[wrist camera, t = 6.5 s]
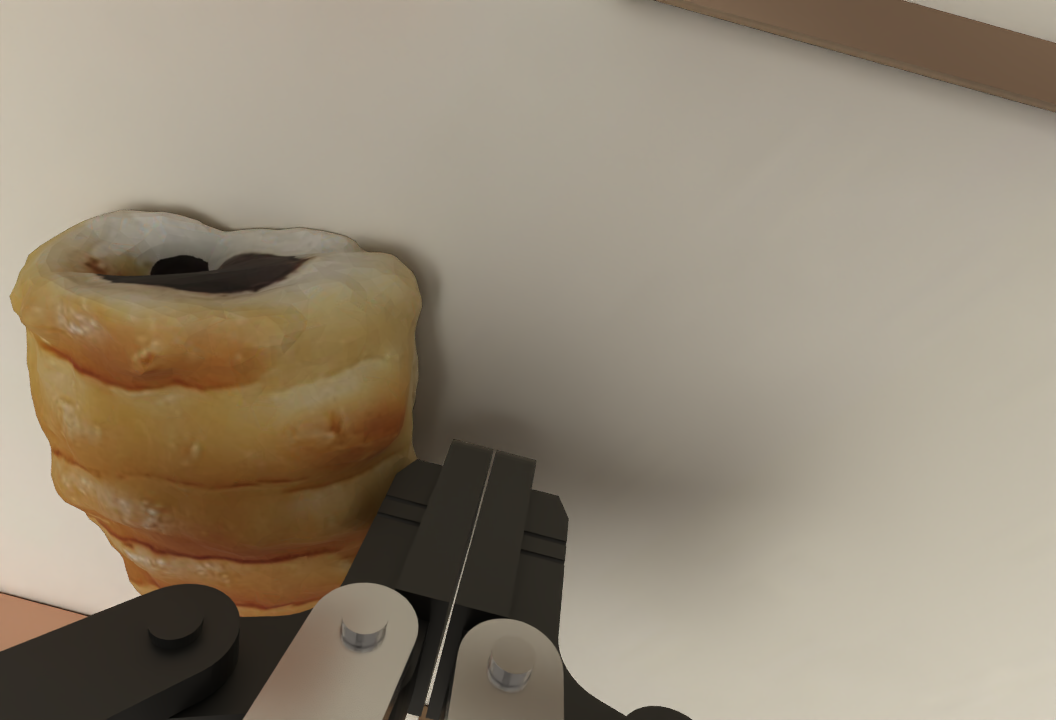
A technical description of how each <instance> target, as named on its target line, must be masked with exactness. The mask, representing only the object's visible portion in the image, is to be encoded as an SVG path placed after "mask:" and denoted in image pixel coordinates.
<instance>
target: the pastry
mask: <svg viewBox="0 0 1056 720" xmlns="http://www.w3.org/2000/svg"><path fill="white" fill-rule="evenodd" d="M10 300H11V303H12V307H13V310H14V311H15V312H16V313H17V314H18V315H19V316H20V320H21V322H22V323H23V324H24V325H25V326H26V332H27V366H28V370H29V377H30V387H31V395H32V399H33V403H34V407H35V412H36V416H37V418H38V421H39V423H40V425H41V428H42V430H43V431H44V433H45V435H46V437H47V438H48V440H49V443H50V446H51V455H52V466H51V476H52V480H53V483H54V486H55V489H56V491H57V493H58V494H59V496H60V497H61V498H62V499H63V500H64V501H65V502H67V503H69V504H71V505H73V506H75V507H77V508H79V509H81V510H82V511H84V512H85V513H86V515H87V516H88V518H89V519H90V520H91V521H93V522H94V523H95V524H97V525H98V526H99V527H100V528H101V529H102V531H103V532H104V533H105V535H106V537H107V538H108V540H109V542H110V544H111V545H112V546H113V547H114V548H115V549H116V550H117V551H118V552H119V553H120V554H121V556H122V557H123V559H124V563H125V567H126V571H127V574H128V577H129V580H130V582H131V584H132V585H133V586H134V588H135V589H136V590H137V591H138V592H139V593H140V594H141V595H144V594H146V593H149V592H152V591H154V590H157V589H160V588H163V587H167V586H172V585H178V584H200V585H206V586H209V587H213V588H216V589H218V590H220V591H222V592H223V593H225V594H226V595H227V596H229V597H230V598H231V599H232V601H233V602H234V603H235V605H236V607H237V609H238V611H239V615H240V617H258V616H283V615H291V614H296V613H300V612H303V611H306V610H309V609H311V608H314V606H315V605H316V604H317V603H318V601H319V600H320V599H322V598H323V597H324V596H325V595H326V594H328V593H329V592H331V591H333V590H335V589H337V588H339V587H340V586H341V584H342V583H343V581H344V579H345V577H346V575H347V573H348V571H349V569H350V567H351V565H352V563H353V561H354V559H355V557H356V555H357V553H358V551H359V548H360V546H361V544H362V542H363V540H364V538H365V536H366V534H367V532H368V530H369V528H370V526H371V524H372V522H373V520H374V518H375V516H377V512H378V510H379V508H380V506H381V504H382V502H383V500H384V499H385V497H386V494H387V492H388V490H389V488H390V485H391V483H392V481H393V479H394V477H395V475H396V474H397V473H398V472H400V471H401V470H402V469H404V468H405V467H407V466H408V465H409V464H411V463H412V462H413V461H415V460H416V459H417V457H416V454H415V451H414V448H413V444H412V433H413V415H412V410H413V407H414V404H415V399H416V388H417V384H418V379H419V373H418V355H417V351H416V343H415V331H416V330H415V329H416V325H417V321H418V318H419V315H420V312H421V309H422V298H421V295H420V292H419V288H418V285H417V281H416V278H415V276H414V274H413V273H412V272H411V271H410V270H409V269H408V268H407V267H406V266H405V265H404V264H403V263H402V262H401V261H400V260H399V259H398V258H396V257H395V256H393V255H391V254H387V253H382V252H367V251H365V250H363V249H362V248H360V247H359V246H358V244H357V243H356V242H355V241H354V240H352V239H350V238H348V237H346V236H343V235H339V234H334V233H329V232H325V231H319V230H313V229H307V228H301V227H298V228H290V229H283V230H274V229H265V228H260V229H247V230H238V231H231V232H223V231H221V230H218V229H215V228H212V227H209V226H207V225H204V224H203V223H201V222H200V221H197V220H194V219H191V218H188V217H185V216H182V215H177V214H172V213H167V212H144V211H136V210H121V211H116V212H111V213H107V214H104V215H100V216H96V217H93V218H91V219H88V220H85V221H83V222H81V223H79V224H77V225H75V226H73V227H71V228H69V229H67V230H66V231H64V232H62V233H60V234H59V235H57V236H55V237H54V238H52V239H50V240H49V241H47V242H46V243H44V244H42V245H41V246H39V247H38V248H37V249H36V250H34V251H33V252H32V253H31V254H29V255H28V258H27V261H26V263H25V265H24V267H23V268H22V269H21V271H20V273H19V276H18V279H17V282H16V284H15V287H14V289H13V291H12V293H11V295H10Z"/></svg>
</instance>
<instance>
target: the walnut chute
mask: <svg viewBox="0 0 1056 720" xmlns="http://www.w3.org/2000/svg"><path fill="white" fill-rule="evenodd" d="M655 1H658V2H662V3H665V4H669V5H672V6H676V7H680V8H683V9H687V10H690V11H694V12H698V13H701V14H705V15H708V16H712V17H715V18H719V19H723V20H726V21H730V22H733V23H737V24H741V25H744V26H748V27H751V28H755V29H758V30H762V31H766V32H769V33H773V34H776V35H780V36H784V37H787V38H791V39H794V40H798V41H801V42H805V43H809V44H812V45H816V46H819V47H823V48H827V49H830V50H834V51H837V52H841V53H844V54H848V55H852V56H855V57H859V58H862V59H866V60H870V61H873V62H877V63H880V64H884V65H888V66H891V67H895V68H898V69H902V70H905V71H909V72H913V73H916V74H920V75H923V76H927V77H931V78H934V79H938V80H941V81H945V82H948V83H952V84H956V85H959V86H963V87H966V88H970V89H974V90H977V91H981V92H984V93H988V94H991V95H995V96H999V97H1002V98H1006V99H1009V100H1013V101H1017V102H1020V103H1024V104H1027V105H1031V106H1034V107H1038V108H1042V109H1045V110H1049V111H1052V112H1056V43H1054V42H1050V41H1046V40H1043V39H1039V38H1036V37H1032V36H1029V35H1025V34H1021V33H1018V32H1014V31H1011V30H1007V29H1004V28H1000V27H996V26H993V25H989V24H986V23H982V22H979V21H975V20H971V19H968V18H964V17H961V16H957V15H954V14H950V13H946V12H943V11H939V10H936V9H932V8H929V7H925V6H921V5H918V4H914V3H911V2H907V1H904V0H655ZM427 709H428V707H427V706H424V708H423V711H422V715H421V717H420V716H419V719H418V720H433V719H429V718H425V717H426V713H427Z"/></svg>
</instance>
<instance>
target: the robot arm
mask: <svg viewBox="0 0 1056 720" xmlns="http://www.w3.org/2000/svg"><path fill="white" fill-rule="evenodd" d="M492 453H493V449H490V448H486V447H482V446H478V445H475V444H471V443H467V442H463V441H459V440H456V439H454V440H453V442H452V444H451V447H450V449H449V452H448V454H447V457H446V459H445V462H444V465H443V466H441V465H437V464H433V463H429V462H425V461H421V460H418V459H416V460H415V461H413V462H412V463H411V464H409V465H408V466H407V467H405V468H404V469H402V470H401V471H400V472H398V473H397V474H396V475H395V477H394V479H393V481H392V483H391V485H390V488H389V490H388V492H387V494H386V497H385V499H384V500H383V502H382V504H381V506H380V508H379V510H378V512H377V516H375V518H374V520H373V522H372V524H371V526H370V528H369V530H368V532H367V534H366V536H365V538H364V540H363V542H362V544H361V546H360V548H359V551H358V553H357V555H356V557H355V559H354V561H353V563H352V565H351V567H350V569H349V571H348V573H347V575H346V577H345V579H344V581H343V583H342V584H341V586H340V587H339V588H337V589H335V590H333V591H331V592H329V593H328V594H326V595H325V596H324V597H323V598H322V599H320V600H319V601H318V603H317V604H316V605H315V606H314V608H311V609H309V610H306V611H303V612H300V613H296V614H291V615H283V616H258V617H240V615H239V611H238V609H237V607H236V605H235V603H234V602H233V601H232V599H231V598H230V597H229V596H227V595H226V594H225V593H223V592H222V591H220V590H218V589H216V588H213V587H209V586H206V585H200V584H178V585H172V586H167V587H163V588H160V589H157V590H154V591H152V592H149V593H146V594H144V595H141V596H139V597H136V598H134V599H131V600H129V601H126V602H124V603H121V604H119V605H116V606H114V607H111V608H109V609H106V610H104V611H101V612H99V613H96V614H94V615H91V616H88V617H86V618H83V619H81V620H78V621H76V622H73V623H71V624H68V625H66V626H63V627H61V628H58V629H56V630H53V631H51V632H48V633H46V634H43V635H41V636H38V637H36V638H33V639H30V640H28V641H25V642H23V643H20V644H18V645H15V646H13V647H10V648H8V649H5V650H3V651H0V720H405V718H406V715H407V713H408V714H412V715H416V716H420V717H421V715H422V711H423V708H424V704H425V701H426V697H427V693H428V690H429V686H430V683H431V679H432V675H433V672H434V668H435V665H436V661H437V658H438V654H439V650H440V647H441V643H442V640H443V636H444V632H445V629H446V625H447V622H448V618H449V615H450V611H451V607H452V604H453V600H454V597H455V593H456V590H457V586H458V582H459V579H460V575H461V572H462V568H463V564H464V561H465V557H466V554H467V550H468V546H469V543H470V539H471V535H472V532H473V528H474V524H475V520H476V516H477V512H478V508H479V504H480V501H481V497H482V493H483V489H484V485H485V481H486V477H487V473H488V469H489V465H490V461H491V457H492ZM535 466H536V460H533V459H529V458H525V457H521V456H517V455H514V454H510V453H506V452H502V451H498V450H497V451H496V455H495V458H494V462H493V466H492V469H491V473H490V476H489V480H488V484H487V487H486V491H485V495H484V498H483V502H482V506H481V509H480V513H479V516H478V520H477V524H476V527H475V531H474V535H473V538H472V542H471V545H470V549H469V553H468V556H467V560H466V564H465V567H464V571H463V574H462V578H461V582H460V585H459V589H458V593H457V596H456V600H455V604H454V607H453V611H452V615H451V619H450V623H449V627H448V631H447V635H446V639H445V643H444V647H443V651H442V655H441V658H440V662H439V666H438V670H437V674H436V678H435V682H434V686H433V690H432V694H431V698H430V702H429V706H428V709H427V713H426V717H425V718H429V719H433V720H692V719H690V718H689V717H688V716H686V715H684V714H682V713H680V712H678V711H675V710H673V709H670V708H666V707H661V706H647V707H642V708H639V709H636V710H634V711H633V712H631V713H630V714H628V715H627V716H625V715H623V714H621V713H620V712H618V711H616V710H615V709H613V708H611V707H610V706H608V705H606V704H605V703H603V702H601V701H600V700H598V699H596V698H595V697H594V696H592V695H591V694H589V693H588V692H587V691H586V690H584V689H583V688H582V687H581V686H580V685H579V684H578V683H577V682H576V681H575V680H574V678H573V677H572V676H571V674H570V673H569V671H568V670H567V668H566V666H565V664H564V662H563V660H562V657H561V654H560V650H559V645H558V634H559V623H560V611H561V600H562V588H563V577H564V562H565V554H566V542H567V531H568V516H567V514H566V512H565V510H564V507H563V505H562V503H561V501H560V498H559V496H556V495H552V494H548V493H545V492H541V491H537V490H533V489H532V483H533V477H534V471H535Z"/></svg>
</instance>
